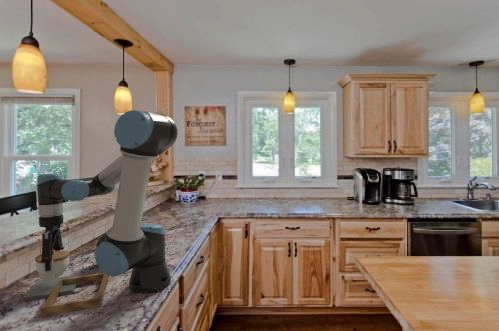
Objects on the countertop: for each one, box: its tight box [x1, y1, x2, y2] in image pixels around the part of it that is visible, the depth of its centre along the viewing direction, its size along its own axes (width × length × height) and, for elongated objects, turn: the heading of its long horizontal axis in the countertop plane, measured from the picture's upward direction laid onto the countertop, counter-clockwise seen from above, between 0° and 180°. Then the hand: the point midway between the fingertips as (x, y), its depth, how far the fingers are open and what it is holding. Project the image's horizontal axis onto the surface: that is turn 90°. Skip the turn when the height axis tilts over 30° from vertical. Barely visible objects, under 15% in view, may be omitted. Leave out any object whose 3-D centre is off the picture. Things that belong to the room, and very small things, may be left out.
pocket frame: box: [40, 272, 109, 318], centre depth 103 cm, size 16×22×3 cm
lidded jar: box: [34, 249, 71, 278], centre depth 110 cm, size 11×11×9 cm
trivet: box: [22, 273, 82, 302], centre depth 110 cm, size 15×15×1 cm
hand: (53, 272), depth 110 cm, fingers closed on lidded jar, 11 cm apart
